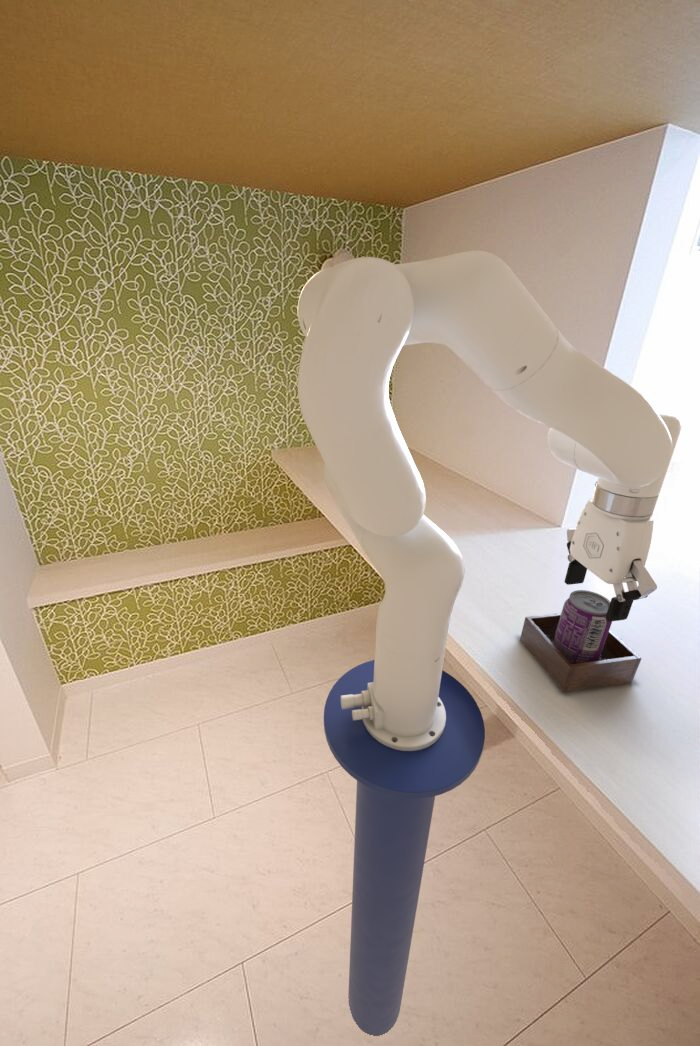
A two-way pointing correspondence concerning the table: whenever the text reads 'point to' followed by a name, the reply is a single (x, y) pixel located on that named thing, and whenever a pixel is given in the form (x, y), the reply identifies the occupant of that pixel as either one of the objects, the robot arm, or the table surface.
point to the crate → (582, 675)
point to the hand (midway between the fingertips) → (593, 600)
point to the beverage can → (583, 627)
